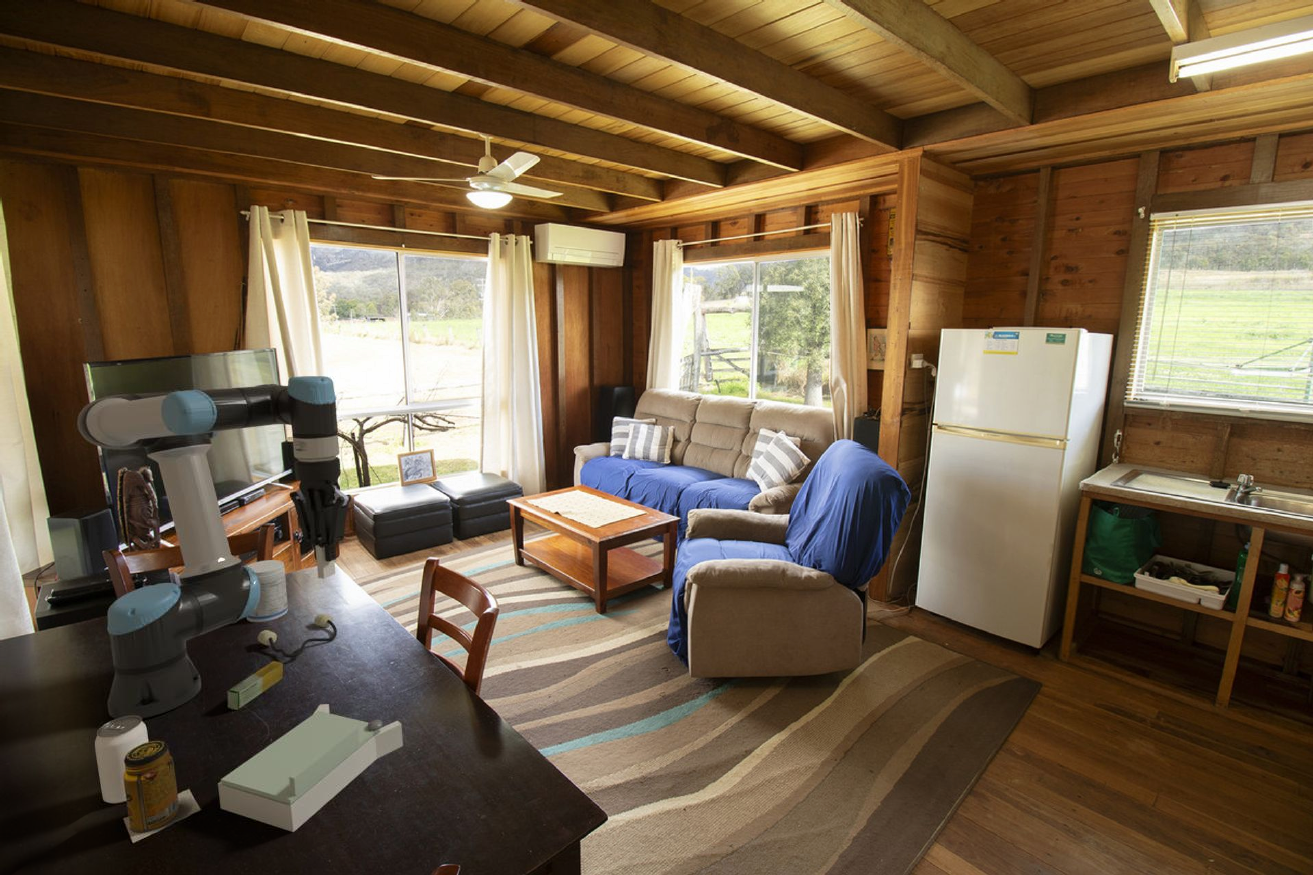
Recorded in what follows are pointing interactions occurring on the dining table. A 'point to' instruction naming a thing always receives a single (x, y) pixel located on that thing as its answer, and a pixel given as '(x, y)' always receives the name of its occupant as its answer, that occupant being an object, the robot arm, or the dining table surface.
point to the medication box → (254, 685)
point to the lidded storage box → (317, 794)
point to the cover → (301, 756)
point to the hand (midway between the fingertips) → (326, 575)
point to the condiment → (153, 791)
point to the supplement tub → (270, 591)
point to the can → (117, 753)
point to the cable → (320, 620)
